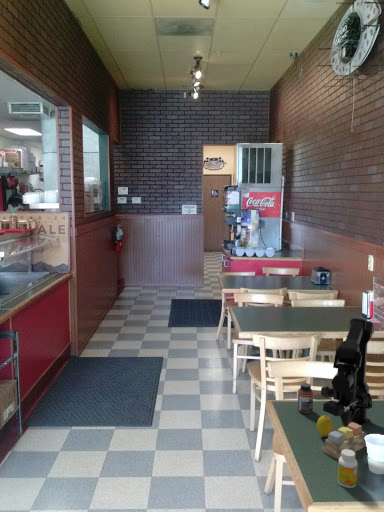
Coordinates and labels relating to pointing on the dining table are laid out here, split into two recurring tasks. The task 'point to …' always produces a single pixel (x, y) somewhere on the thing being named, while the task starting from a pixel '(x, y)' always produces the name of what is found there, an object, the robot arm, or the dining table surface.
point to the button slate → (336, 437)
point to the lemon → (324, 425)
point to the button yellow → (346, 432)
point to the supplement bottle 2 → (347, 469)
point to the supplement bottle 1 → (305, 399)
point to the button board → (344, 445)
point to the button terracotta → (355, 428)
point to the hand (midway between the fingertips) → (345, 426)
